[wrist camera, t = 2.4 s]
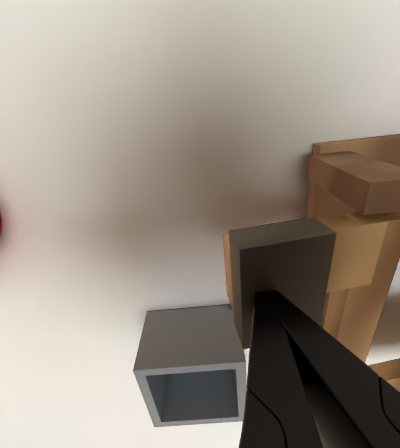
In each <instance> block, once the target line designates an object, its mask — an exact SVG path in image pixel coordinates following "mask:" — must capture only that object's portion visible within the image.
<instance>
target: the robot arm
mask: <svg viewBox="0 0 400 448" xmlns="http://www.w3.org/2000/svg"><path fill="white" fill-rule="evenodd" d="M246 390H247V391H246V397H245V408H244V417H243V425H242V433H241V438H240V444H239V448H400V392H399V391H398V390H397V389H396V388H395V387H393V386H392V385H391V384H390V383H389V382H387V381H386V380H385V379H384V378H383V377H379V375H378V373H376V372H375V371H374V370H373V369H372V368H370V367H369V366H368V365H367V364H365V363H364V362H363V361H362V360H361V359H359V358H358V357H357V356H356V355H355V354H353V353H352V352H351V351H350V350H349V349H347V348H346V347H345V346H344V345H343V344H341V343H340V342H339V341H338V340H337V339H335V338H334V337H333V336H332V335H331V334H329V333H328V332H327V331H326V330H325V329H323V328H322V327H321V326H320V325H319V324H317V323H316V322H315V321H314V320H312V319H311V318H310V317H309V316H308V315H306V314H305V313H304V312H303V311H302V310H300V309H299V308H298V307H297V306H296V305H294V304H293V303H292V302H291V301H290V300H288V299H287V298H286V297H285V296H284V295H282V294H281V293H280V292H279V291H277V290H269V291H259V292H255V294H254V306H253V317H252V329H251V341H250V352H249V364H248V376H247V387H246Z"/></svg>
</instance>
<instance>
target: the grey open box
mask: <svg viewBox="0 0 400 448" xmlns="http://www.w3.org/2000/svg"><path fill="white" fill-rule="evenodd" d="M133 372H134V374H135V377H136V380H137V382H138V385H139V387H140V390H141V393H142V395H143V398H144V401H145V403H146V406H147V409H148V411H149V414H150V417H151V419H152V422H153V425H154V427H164V426H179V425H193V424H208V423H222V422H237V421H243V417H244V408H245V397H246V391H247V390H246V360H245V355H244V350H243V348H242V345H241V342H240V339H239V336H238V333H237V330H236V327H235V325H234V313H233V309H232V306H231V304H230V305H218V306H207V307H195V308H183V309H172V310H160V311H149V312H147V314H146V318H145V323H144V327H143V331H142V335H141V339H140V344H139V348H138V352H137V356H136V360H135V365H134V369H133Z"/></svg>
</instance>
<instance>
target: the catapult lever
mask: <svg viewBox="0 0 400 448" xmlns="http://www.w3.org/2000/svg"><path fill="white" fill-rule="evenodd" d="M223 241H224V256H225V270H226V284H227V295H228V298H229V300H230V303H231V306H232V309H233V313H234V325H235V327H236V330H237V333H238V336H239V339H240V342H241V345H242V348H243V349H247V348H250V341H251V329H252V317H253V306H254V294H255V292H259V291H269V290H277V291H279V292H280V293H281V294H282V295H284V296H285V297H286V298H287V299H288V300H290V301H291V302H292V303H293V304H294V305H296V306H297V307H298V308H299V309H300V310H302V311H303V312H304V313H305V314H306V315H308V316H309V317H310V318H311V319H312V320H314V321H315V322H316V323H317V324H319V325H321V319H322V314H323V308H324V302H325V297H326V293H328V292H330V295H329V301H328V306H327V311H326V317H325V322H324V327H323V329H325V330H326V331H327V332H328V333H329V334H331V335H332V336H333V337H334V338H335V339H337V340H338V341H339V342H340V343H341V344H343V345H344V346H345V347H346V348H347V349H349V350H350V351H351V352H352V353H353V354H355V355H356V356H357V357H358V358H359V359H361V360H362V361H363V362H364V363H365V361H366V358H367V355H368V352H369V349H370V346H371V343H372V340H373V337H374V334H375V331H376V328H377V325H378V322H379V319H380V316H381V313H382V310H383V307H384V304H385V301H386V298H387V295H388V292H389V289H390V285H391V282H392V279H393V276H394V273H395V270H396V267H397V264H398V261H399V258H400V212H391V213H381V214H371V215H362V214H360V213H359V212H356V213H350V214H344V215H338V216H332V217H326V218H320V219H316V218H315V217H309V218H303V219H297V220H291V221H285V222H279V223H273V224H267V225H261V226H255V227H249V228H243V229H237V230H231V231H229V234H225V235H223ZM368 366H369V367H370V368H372V369H373V370H374V371H375V372H376V373H378V375H379V377H383V378H384V379H385V380H386V381H387V382H389V383H390V384H391V385H392V386H393V387H395V388H396V389H397V390H398V391H399V392H400V358H399V359H395V360H390V361H386V362H382V363H377V364H373V365H368Z"/></svg>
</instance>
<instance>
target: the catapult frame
mask: <svg viewBox="0 0 400 448" xmlns="http://www.w3.org/2000/svg"><path fill="white" fill-rule="evenodd" d="M307 178H308V179H310V183H309V192H308V201H307V211H306V218H309V217H315V218H316V219H320V218H326V217H332V216H338V215H344V214H350V213H356V212H359V213H360V214H362V215H371V214H381V213H391V212H400V134H397V135H388V136H378V137H369V138H360V139H351V140H342V141H333V142H323V143H314V145H313V154H312V155H310V158H309V167H308V177H307ZM329 295H330V292H328V293H326V297H325V302H324V308H323V314H322V319H321V325H320V326H321V327H322V328H323V327H324V322H325V317H326V311H327V306H328V301H329Z"/></svg>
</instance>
